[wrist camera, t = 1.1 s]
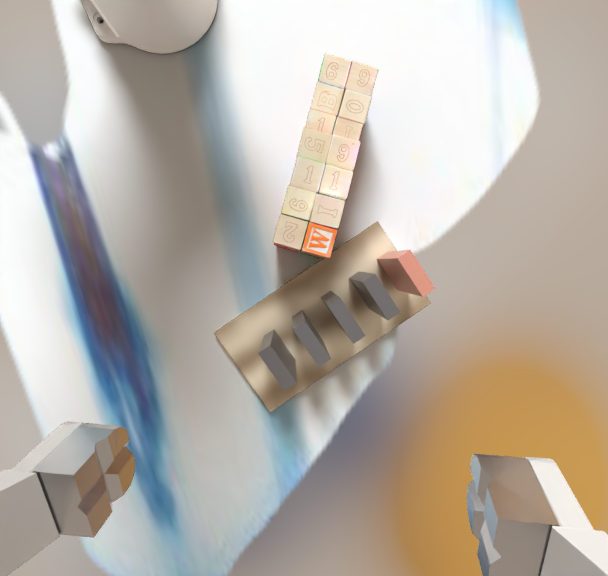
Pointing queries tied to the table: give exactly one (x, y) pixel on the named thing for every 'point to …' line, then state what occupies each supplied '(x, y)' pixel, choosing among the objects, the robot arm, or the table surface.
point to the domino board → (316, 316)
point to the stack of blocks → (326, 158)
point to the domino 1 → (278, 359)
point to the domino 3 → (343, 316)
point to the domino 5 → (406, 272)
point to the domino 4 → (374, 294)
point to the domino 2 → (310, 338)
